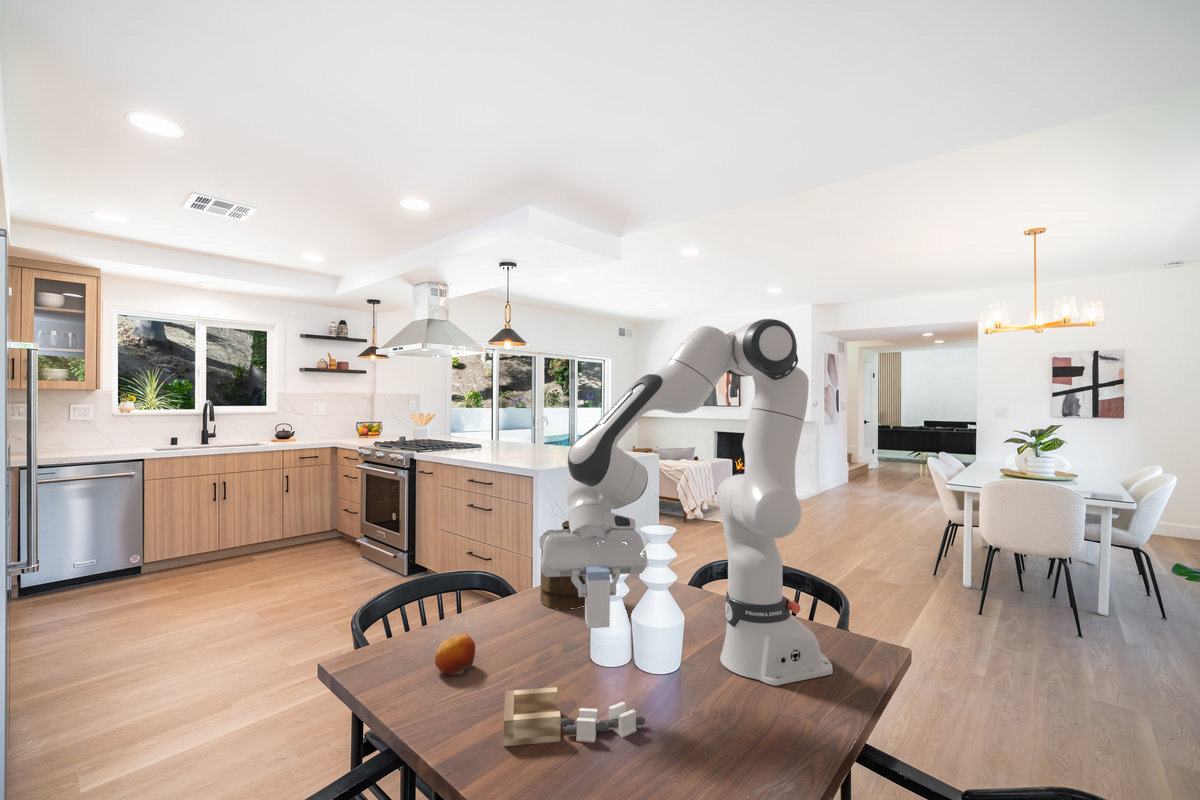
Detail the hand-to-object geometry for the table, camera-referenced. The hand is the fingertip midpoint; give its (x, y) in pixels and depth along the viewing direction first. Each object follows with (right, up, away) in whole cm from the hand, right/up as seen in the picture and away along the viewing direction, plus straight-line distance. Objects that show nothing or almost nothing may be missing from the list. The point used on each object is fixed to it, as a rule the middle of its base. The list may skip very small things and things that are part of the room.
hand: (597, 595), depth 98 cm
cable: (0, -19, -9) cm, 21 cm away
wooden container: (-9, -20, +51) cm, 56 cm away
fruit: (-29, -20, +12) cm, 37 cm away
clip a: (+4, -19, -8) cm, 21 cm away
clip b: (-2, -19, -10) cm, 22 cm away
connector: (0, -5, +1) cm, 5 cm away
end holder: (-11, -19, -8) cm, 24 cm away
